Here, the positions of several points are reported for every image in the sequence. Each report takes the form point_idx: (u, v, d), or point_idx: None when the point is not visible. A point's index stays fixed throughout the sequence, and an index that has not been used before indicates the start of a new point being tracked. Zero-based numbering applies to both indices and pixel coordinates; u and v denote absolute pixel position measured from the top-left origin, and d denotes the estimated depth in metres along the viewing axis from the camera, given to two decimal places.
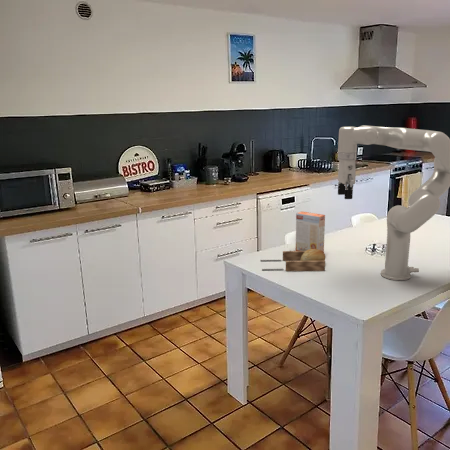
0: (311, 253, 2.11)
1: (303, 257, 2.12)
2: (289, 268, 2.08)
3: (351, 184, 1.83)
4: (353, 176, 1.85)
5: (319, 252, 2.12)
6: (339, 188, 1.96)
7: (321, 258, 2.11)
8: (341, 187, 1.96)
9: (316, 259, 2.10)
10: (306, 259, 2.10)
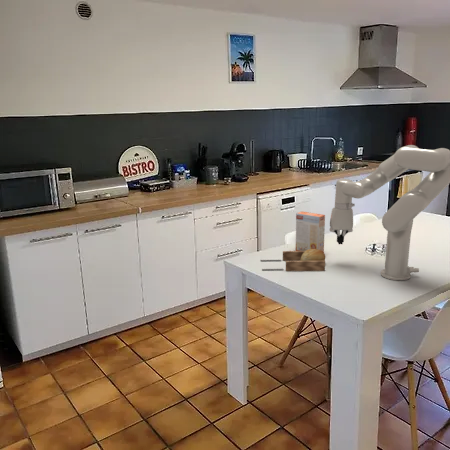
0: (311, 253, 2.11)
1: (303, 257, 2.12)
2: (289, 268, 2.08)
3: None
4: None
5: (319, 252, 2.12)
6: None
7: (321, 258, 2.11)
8: None
9: (316, 259, 2.10)
10: (306, 259, 2.10)
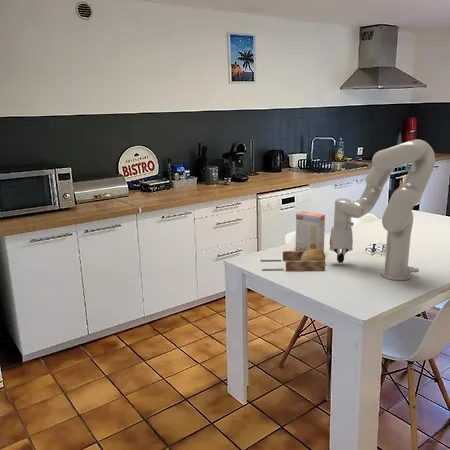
0: (311, 253, 2.11)
1: (303, 257, 2.12)
2: (289, 268, 2.08)
3: None
4: None
5: (319, 252, 2.12)
6: None
7: (321, 258, 2.11)
8: None
9: (316, 259, 2.10)
10: (306, 259, 2.10)
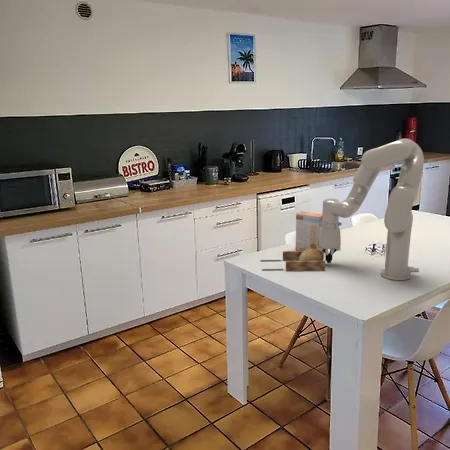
0: (309, 253, 2.11)
1: (301, 257, 2.12)
2: (289, 268, 2.08)
3: None
4: None
5: (317, 252, 2.12)
6: (329, 257, 2.14)
7: (319, 258, 2.11)
8: None
9: (314, 259, 2.10)
10: (304, 259, 2.10)
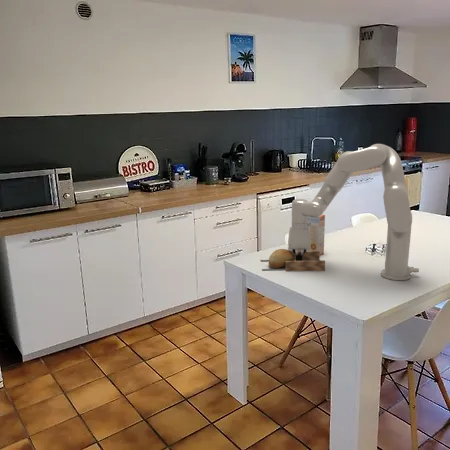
0: (279, 253, 2.11)
1: (271, 257, 2.12)
2: (289, 268, 2.08)
3: None
4: None
5: (287, 252, 2.12)
6: (299, 257, 2.14)
7: (289, 258, 2.12)
8: None
9: (283, 259, 2.10)
10: (274, 259, 2.11)
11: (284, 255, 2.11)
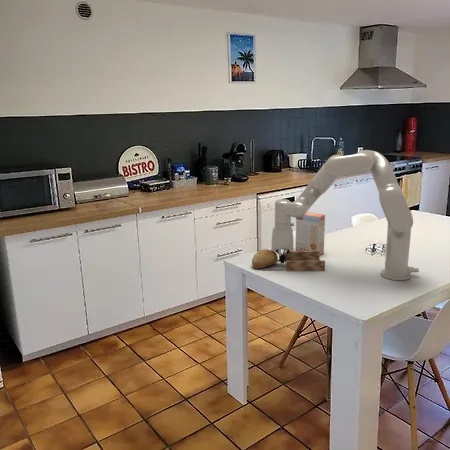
0: (262, 254, 2.11)
1: (254, 258, 2.13)
2: (289, 268, 2.08)
3: None
4: None
5: (270, 253, 2.12)
6: None
7: (272, 259, 2.12)
8: None
9: (267, 260, 2.10)
10: (257, 260, 2.11)
11: (267, 255, 2.11)
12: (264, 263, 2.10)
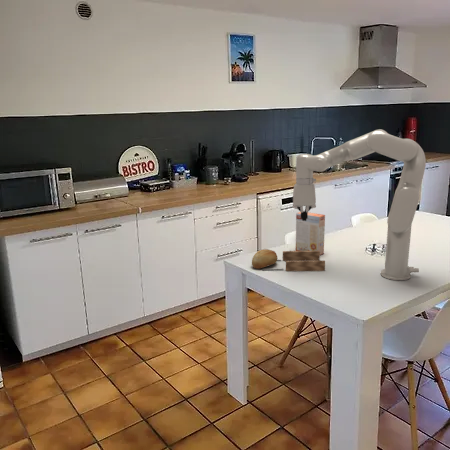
0: (262, 254, 2.11)
1: (254, 258, 2.12)
2: (289, 268, 2.08)
3: None
4: None
5: (270, 253, 2.12)
6: (304, 214, 2.09)
7: (272, 259, 2.12)
8: None
9: (266, 260, 2.10)
10: (257, 260, 2.11)
11: (267, 255, 2.11)
12: (264, 263, 2.10)
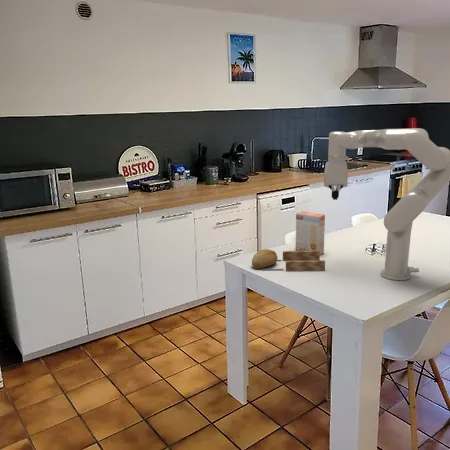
0: (262, 254, 2.11)
1: (254, 258, 2.12)
2: (289, 268, 2.08)
3: None
4: None
5: (270, 253, 2.12)
6: None
7: (272, 259, 2.12)
8: None
9: (267, 260, 2.10)
10: (257, 260, 2.11)
11: (267, 255, 2.11)
12: (264, 263, 2.10)
